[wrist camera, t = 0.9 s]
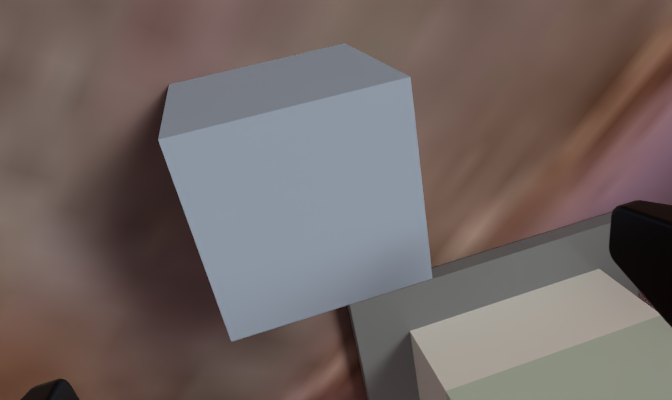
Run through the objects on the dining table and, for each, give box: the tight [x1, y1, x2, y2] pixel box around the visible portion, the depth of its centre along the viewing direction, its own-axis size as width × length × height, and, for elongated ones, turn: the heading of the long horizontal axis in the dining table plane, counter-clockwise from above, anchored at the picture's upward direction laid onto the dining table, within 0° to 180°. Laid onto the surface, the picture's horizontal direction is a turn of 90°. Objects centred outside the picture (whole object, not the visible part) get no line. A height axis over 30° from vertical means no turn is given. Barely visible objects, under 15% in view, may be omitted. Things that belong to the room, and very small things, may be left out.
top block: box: [158, 44, 432, 342], centre depth 13 cm, size 5×5×5 cm
